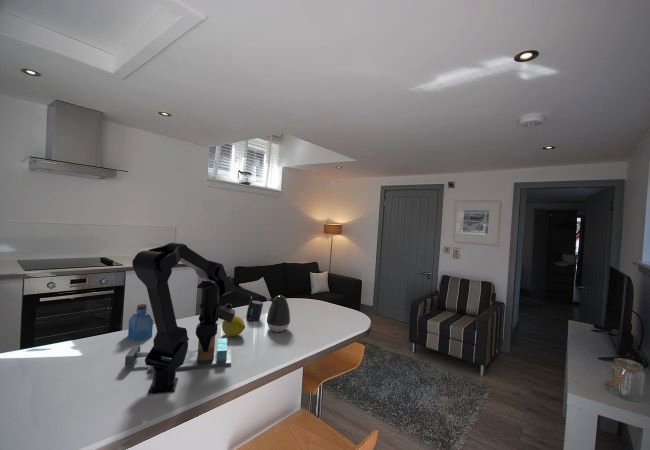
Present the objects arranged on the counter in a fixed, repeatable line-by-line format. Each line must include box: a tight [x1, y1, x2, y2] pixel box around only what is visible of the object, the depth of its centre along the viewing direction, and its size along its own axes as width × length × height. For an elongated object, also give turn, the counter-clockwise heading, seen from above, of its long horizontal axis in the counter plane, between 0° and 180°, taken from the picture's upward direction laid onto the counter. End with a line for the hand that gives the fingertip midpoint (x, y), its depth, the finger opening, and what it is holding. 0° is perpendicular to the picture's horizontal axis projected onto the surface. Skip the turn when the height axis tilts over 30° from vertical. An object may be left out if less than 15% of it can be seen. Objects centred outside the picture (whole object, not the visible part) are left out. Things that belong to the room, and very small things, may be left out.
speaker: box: [245, 296, 264, 322], centre depth 141 cm, size 8×6×10 cm
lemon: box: [221, 315, 246, 337], centre depth 121 cm, size 11×8×8 cm
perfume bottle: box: [127, 303, 154, 342], centre depth 114 cm, size 6×6×12 cm
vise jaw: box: [124, 344, 168, 367], centre depth 95 cm, size 11×10×4 cm
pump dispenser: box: [266, 294, 291, 333], centre depth 131 cm, size 10×10×15 cm
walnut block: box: [197, 335, 216, 360], centre depth 100 cm, size 5×5×8 cm
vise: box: [147, 337, 232, 374], centre depth 99 cm, size 24×12×5 cm, turn 108°
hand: (206, 345), depth 100 cm, fingers open, 9 cm apart
